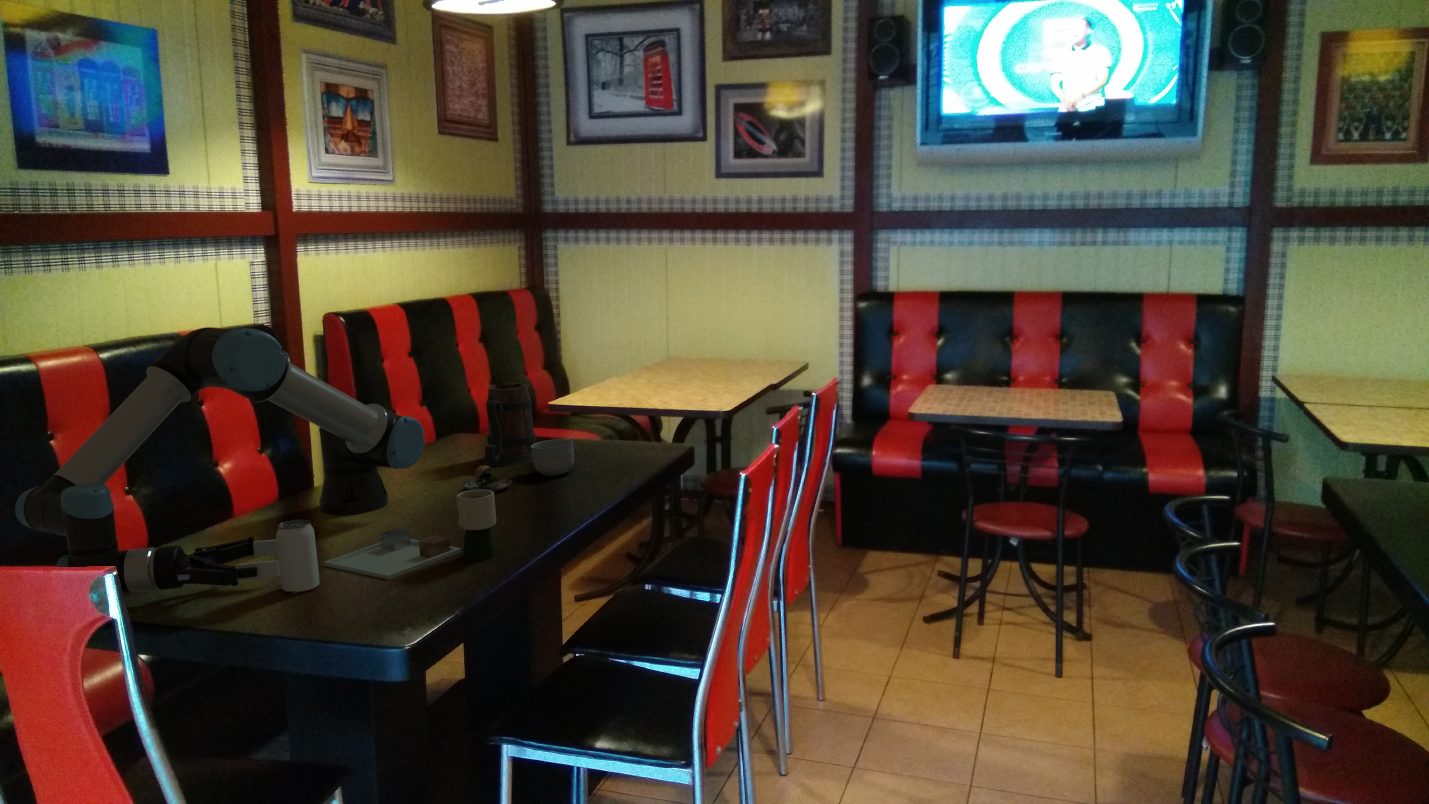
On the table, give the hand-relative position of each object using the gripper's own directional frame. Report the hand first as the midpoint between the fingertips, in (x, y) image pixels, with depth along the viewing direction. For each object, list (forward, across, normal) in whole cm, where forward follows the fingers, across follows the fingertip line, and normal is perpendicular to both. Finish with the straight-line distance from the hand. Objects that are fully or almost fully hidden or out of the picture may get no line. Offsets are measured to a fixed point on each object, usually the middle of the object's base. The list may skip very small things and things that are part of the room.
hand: (285, 556), depth 198 cm
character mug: (+34, -7, -6) cm, 35 cm away
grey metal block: (+17, -18, -6) cm, 26 cm away
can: (+2, 0, -6) cm, 7 cm away
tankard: (+41, -93, -7) cm, 102 cm away
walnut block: (+25, -10, -6) cm, 28 cm away
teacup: (+53, -75, -7) cm, 92 cm away
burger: (+36, -63, -7) cm, 73 cm away
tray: (+18, -10, -6) cm, 21 cm away
